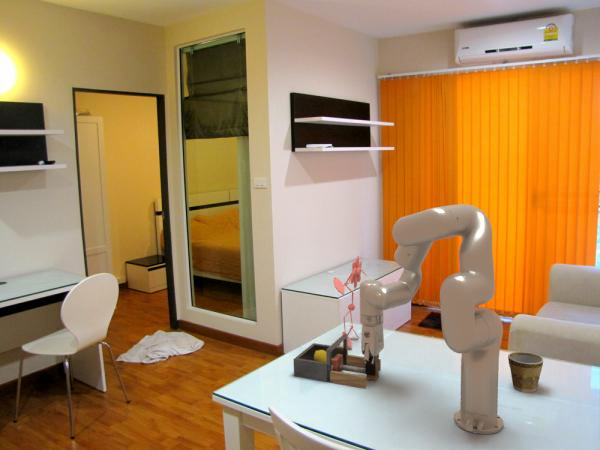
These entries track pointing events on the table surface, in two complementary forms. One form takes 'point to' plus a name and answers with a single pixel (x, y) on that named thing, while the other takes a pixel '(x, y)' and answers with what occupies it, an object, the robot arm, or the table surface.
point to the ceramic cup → (525, 370)
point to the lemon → (321, 356)
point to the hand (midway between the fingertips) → (372, 372)
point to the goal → (319, 370)
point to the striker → (338, 366)
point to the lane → (351, 378)
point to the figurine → (340, 287)
